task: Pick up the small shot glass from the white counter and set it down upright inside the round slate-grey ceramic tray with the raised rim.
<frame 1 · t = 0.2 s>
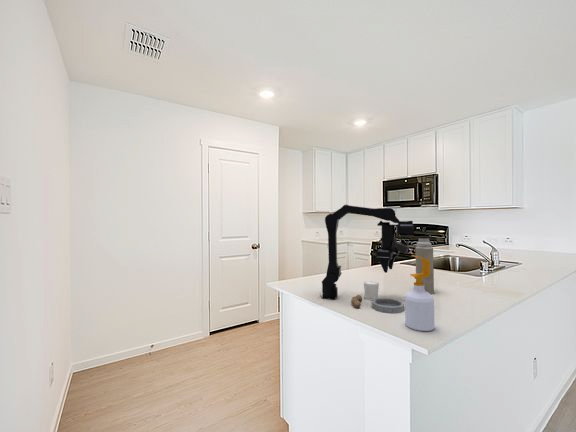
hand: (388, 270, 121), 14 cm above the counter, tool pointing down, fingers open, 9 cm apart
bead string: (356, 304, 118), on the counter
tray: (387, 307, 113), on the counter
thermos bottle: (425, 292, 135), on the counter
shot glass: (371, 298, 128), on the counter
soap bottle: (419, 326, 94), on the counter
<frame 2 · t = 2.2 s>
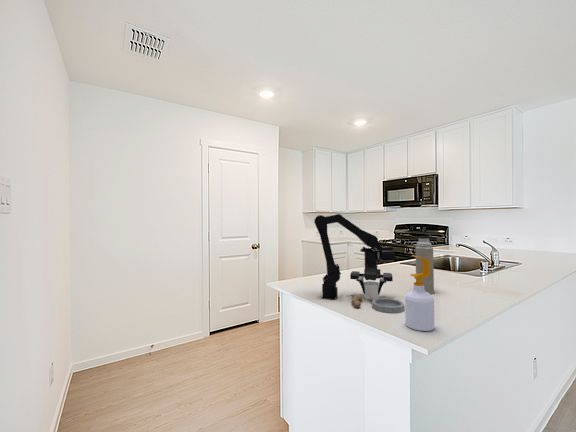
hand: (371, 294, 128), 2 cm above the counter, tool pointing down, fingers closed on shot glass, 6 cm apart
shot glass: (371, 298, 128), on the counter, touching gripper
everything else where it was.
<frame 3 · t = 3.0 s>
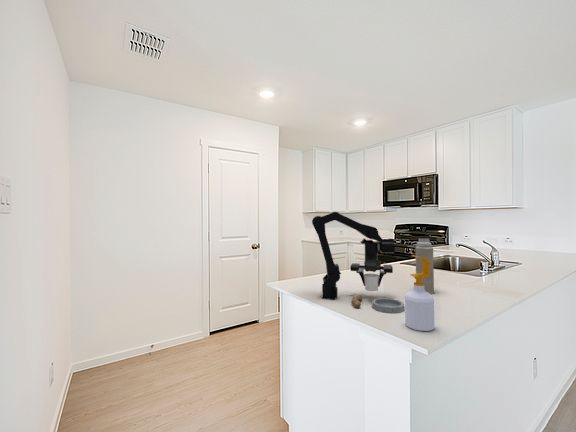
hand: (371, 286, 128), 5 cm above the counter, tool pointing down, fingers closed on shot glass, 6 cm apart
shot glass: (371, 290, 128), point 4 cm above the counter, touching gripper
everything else where it was.
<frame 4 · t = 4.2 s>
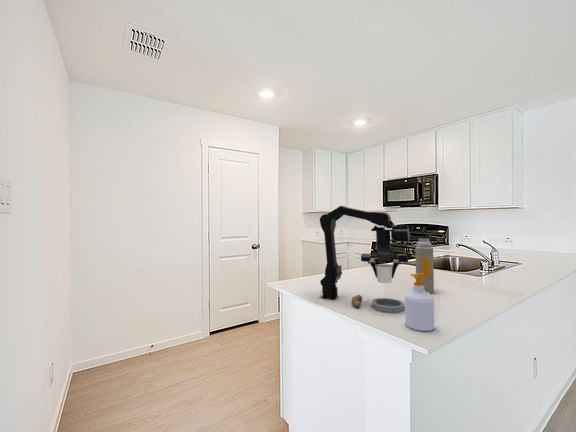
hand: (384, 277, 116), 12 cm above the counter, tool pointing down, fingers closed on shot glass, 6 cm apart
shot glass: (384, 281, 116), point 10 cm above the counter, touching gripper
everything else where it was.
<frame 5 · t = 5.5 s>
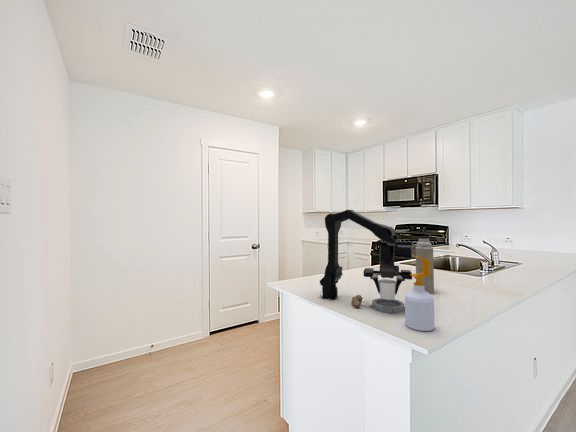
hand: (387, 294, 113), 6 cm above the counter, tool pointing down, fingers closed on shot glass, 6 cm apart
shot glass: (387, 298, 113), point 4 cm above the counter, touching gripper
everything else where it was.
when the fingers open (3 cm above the counter, at t = 6.4 s): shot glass drops 1 cm, resting on tray.
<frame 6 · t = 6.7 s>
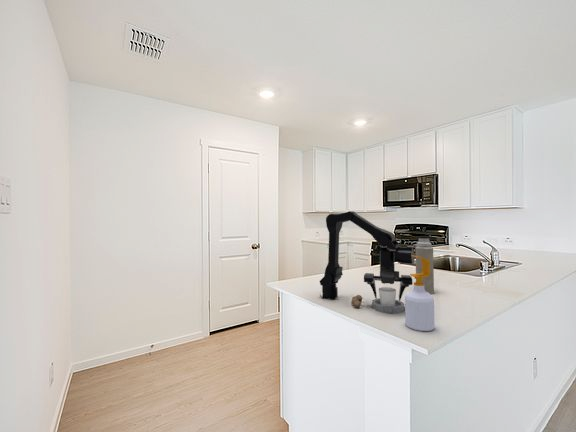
hand: (387, 299, 113), 3 cm above the counter, tool pointing down, fingers open, 9 cm apart
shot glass: (387, 306, 113), point 1 cm above the counter, touching tray
everything else where it was.
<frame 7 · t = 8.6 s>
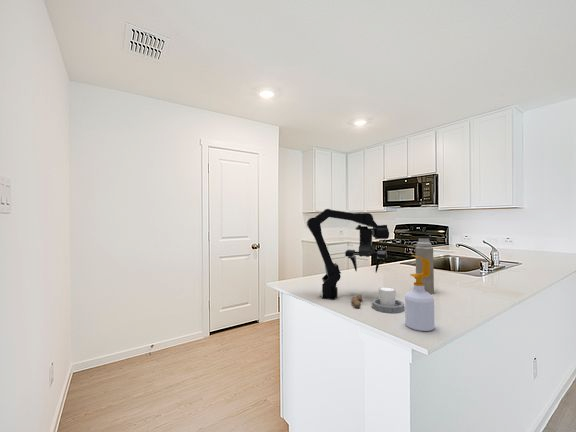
hand: (366, 271, 129), 12 cm above the counter, tool pointing down, fingers open, 9 cm apart
nothing on the counter moved.
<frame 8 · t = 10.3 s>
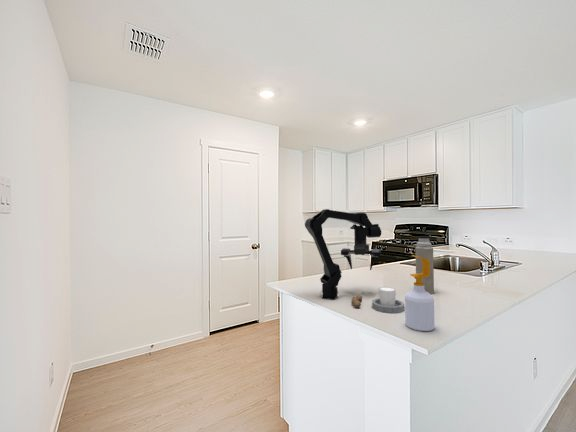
hand: (360, 269, 134), 12 cm above the counter, tool pointing down, fingers open, 9 cm apart
nothing on the counter moved.
at the end: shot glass 0.2 cm from the tray (horizontally); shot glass tilted 0°; the gripper is holding nothing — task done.
